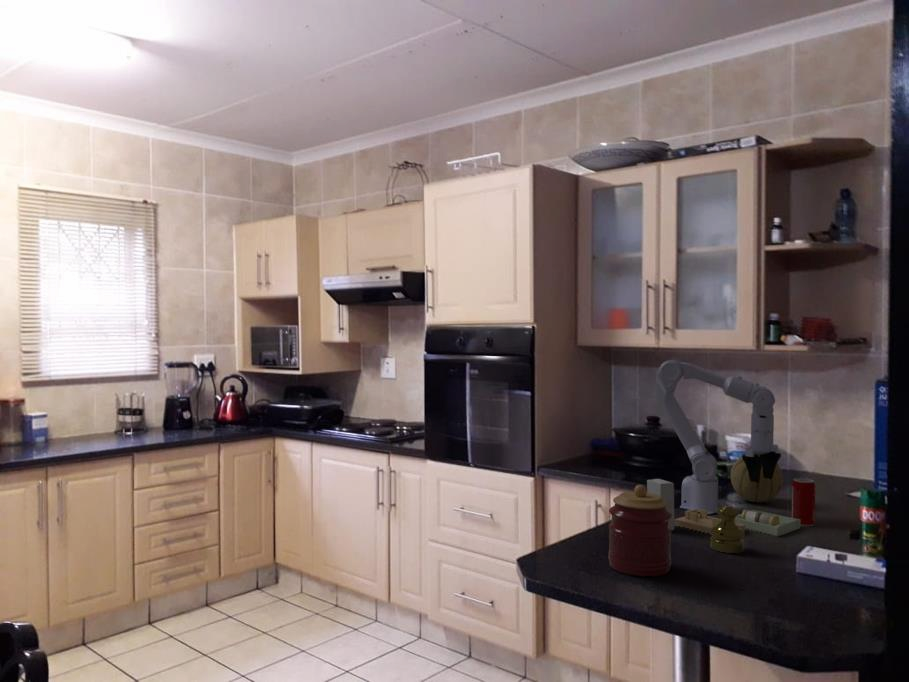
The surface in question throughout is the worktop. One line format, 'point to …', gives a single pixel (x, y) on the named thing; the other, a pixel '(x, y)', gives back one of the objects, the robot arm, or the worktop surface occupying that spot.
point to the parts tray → (783, 527)
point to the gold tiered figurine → (727, 532)
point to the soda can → (803, 501)
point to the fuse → (760, 517)
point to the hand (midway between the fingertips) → (761, 480)
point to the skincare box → (663, 494)
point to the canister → (640, 534)
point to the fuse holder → (700, 521)
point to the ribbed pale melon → (755, 483)
